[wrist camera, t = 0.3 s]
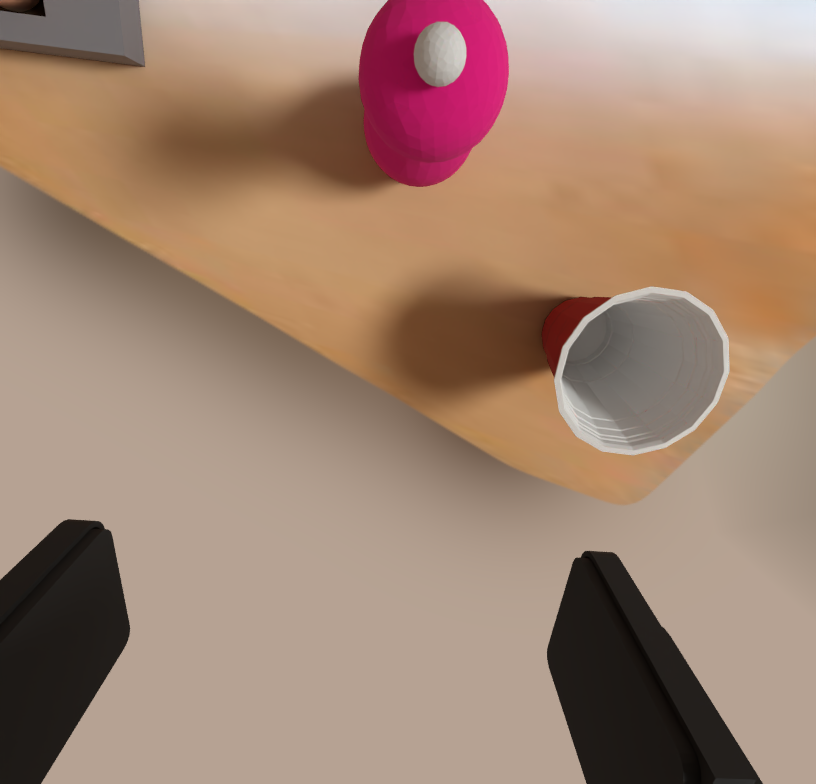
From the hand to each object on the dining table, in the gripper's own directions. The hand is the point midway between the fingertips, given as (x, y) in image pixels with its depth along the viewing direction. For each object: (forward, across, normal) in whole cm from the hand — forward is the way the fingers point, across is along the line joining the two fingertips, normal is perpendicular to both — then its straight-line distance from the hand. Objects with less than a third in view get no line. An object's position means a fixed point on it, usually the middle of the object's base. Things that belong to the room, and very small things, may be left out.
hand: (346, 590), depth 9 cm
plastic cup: (+31, -16, +1) cm, 35 cm away
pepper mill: (+31, -1, -12) cm, 33 cm away
